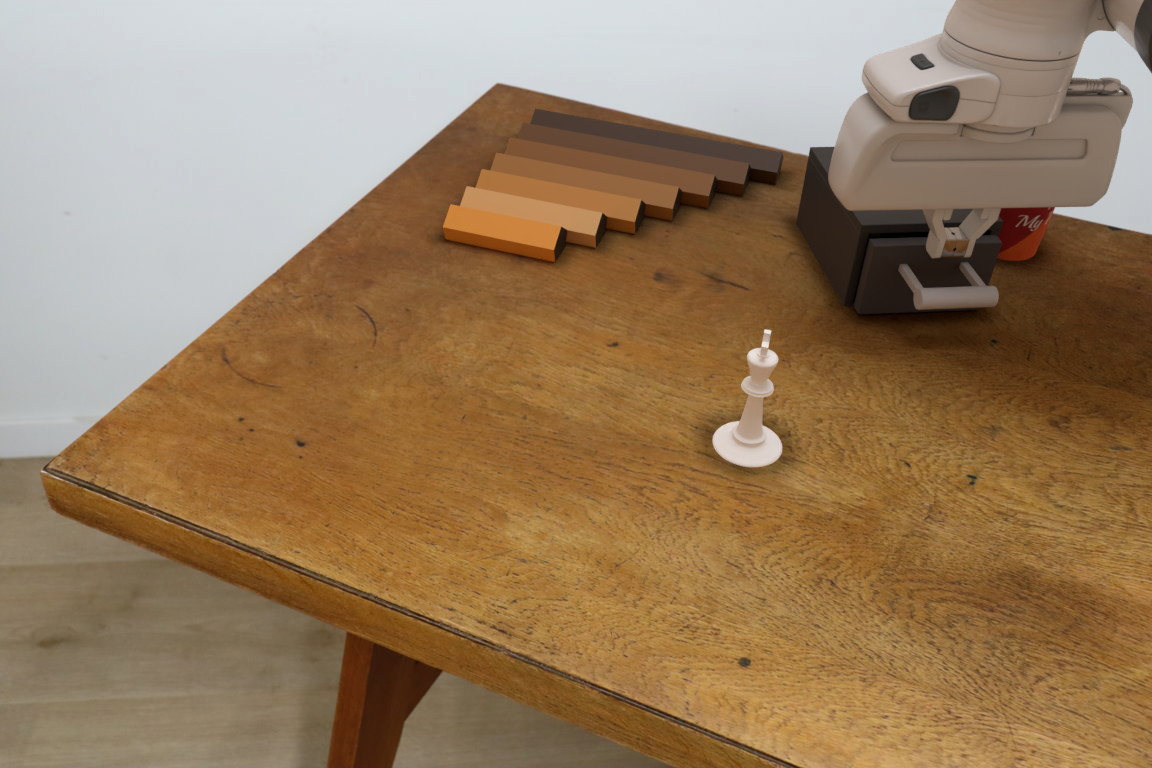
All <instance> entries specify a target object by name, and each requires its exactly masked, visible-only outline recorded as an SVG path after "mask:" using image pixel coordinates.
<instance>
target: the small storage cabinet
mask: <svg viewBox="0 0 1152 768" xmlns="http://www.w3.org/2000/svg"><path fill="white" fill-rule="evenodd" d="M834 147H835V146H810V147H809V152H808V158H807V164H806V169H805V173H804V177H803V183H802V190H801V193H800V195H801V196H800V199H799V206H798V210H797V216H796V222H795V223H796V225H797V227H798V229H799V230H800V232H801V233H802V234H801V235H802V236H803V238H804V239H805V241H806V243H807V245H808V247H809V248H810V250H811V251H812V253H813V255H814V257H815V259H816V260H817V262H818V264H819V265H820V267H821V269H822V271H823V272H824V274H825V276H826V278H827V279H828V281H829V283H830V285H831V286H832V288H833V290H834V292H835V294H836V295H837V297H838V299H839V301H840V302H841V303H842V305H843V306H846V307H847V306H849V307H850V306H854V302H855V298H856V294H857V293H856V288H857V284H858V280H859V275H860V271H861V267H862V263H863V258H864V254H865V250H866V245H867V241H868V237H869V234H872V233H907V232H929V231H930V229H929V227H928V224H927V221H926V218H925V216H924V213H923V210H873V211H850V210H847V209H846V208H845V207H844V206H843V205H842V203H841V202H840V201H839V200H838V198H837V197H836V196H835V194H834V192H833V191H832V189H831V187H830V185H829V181H828V174H829V168H830V163H831V159H832V155H833V151H834ZM972 210H973V209H953V212H952V215H951V218H950V220H942V222H943V225H944V228H954V227H959V226H960V225H961V223H962V222H963V221H964V220H965V219H966V217H967V216H968V215H969V214H970V213H971V211H972ZM1002 224H1003V220H1002V219H1001V218H1000V217H998V220H997V221H996V222H995V223H994V224H993V225H992V226H991V227H990V228H989V229H988V230H986V231H985V232H984V233H983V234H982V235H996V236H997V237H998V236H999V233H1000V230H1001V227H1002Z"/></svg>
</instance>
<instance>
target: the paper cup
mask: <svg viewBox="0 0 1152 768" xmlns="http://www.w3.org/2000/svg"><path fill="white" fill-rule="evenodd" d="M1055 209H1056V207H1040V208H1001V211H1000V214H999V217H1000V218H1001V219H1002V220H1003V224H1002V227H1001V230H1000V233H999V236H998V238H999V239H1000V241H1001V242H1002V245H1001V248H1000V251H999V254H998V257H997V260H1001V261H1002V260H1003V261H1008V262H1009V261H1011V262H1019V261H1027V260H1029V259H1031V258H1033V257H1034V256H1035V255H1036V253H1037V252H1038V248H1039V246H1040V244H1041V242H1042V241H1043V240H1042V239H1043V237H1044V235H1045V232H1046V231H1047V228H1048V226H1049V223H1050V221H1051V218H1052V216H1053V214H1054V212H1055Z"/></svg>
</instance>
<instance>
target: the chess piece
mask: <svg viewBox="0 0 1152 768" xmlns="http://www.w3.org/2000/svg"><path fill="white" fill-rule="evenodd" d="M771 336H772V329H765V328H764V330H763V336H762V342H761V346H760V347H755V348H752V349H751V350H749V351H748V353H747V355H746V361H747V365H748V368H749V375H748V376H746V377H745V378H743V380H742V381H741V384H740V387H741V390H742V391H743V393H745V394H746V395H747V398H746V401H745V405H744V408H743V411H742V414H741V416H740V419H739V420H735V421H730V422H727V423H725V424H723V425H721V426H719V427H718V428H717V429H716V430H715V431H714V433H713V435H712V441H711V442H712V446H713V448H714V450H715V452H716V453H717V455H719V456H720V457H721V458H722V459H724V460H725V461H727V462H729V463H731V464H733V465H737V466H739V467H745V468H762V467H767V466H770V465H772V464H773V463H775V462H776V461H777V460H778V459H779V458H780V457H781V455H782V453H783V443H782V440H781V439H780V437H779V436H778V434H776V432H774V431H773V430H772V429H770V428H769V427H767V426H765V425H763V416H764V414H763V413H764V398H767V397H770V396H771V395H772V394H773V393H774V391H775V386H774V383H773V382H772V381H771V379H769V378H770V376H771V375H772V373H773V371H774V370H775V369H776V368H777V366H778V364H779V355H778V354H777V353H776V352H775V351H773V350H771V349H769V347H770V340H771Z"/></svg>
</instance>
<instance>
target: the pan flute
mask: <svg viewBox="0 0 1152 768" xmlns="http://www.w3.org/2000/svg"><path fill="white" fill-rule="evenodd" d="M783 161H784V154H783V152H782V151H776V150H771V149H764V148H760V147H754V146H749V145H743V144H736V143H732V142H727V141H720V140H715V139H708V138H703V137H698V136H693V135H692V136H691V135H686V134H682V133H681V134H680V133H676V132H669V131H664V130H658V129H652V128H648V127H641V126H636V125H631V124H624V123H619V122H613V121H608V120H601V119H595V118H591V117H585V116H580V115H579V116H578V115H573V114H569V113H562V112H556V111H553V110H552V111H551V110H545V109H541V108H534V110H533V113H532V117H531V120H530V123H527V122H522V124H521V127H520V130H519V133H518V135H517V137H509V139H508V142H507V145H506V147H505V151H504V153H500V152H495V155H494V158H493V161H492V164H491V167H490V169H485V168H481V170H480V173H479V176H478V179H477V181H476V185H475V187H473V186H470V185H469V186H468V185H466V186H465V190H464V192H463V195H462V199H461V202H460V204H459V205H456V204H452V203H450V205H449V208H448V211H447V213H446V216H445V219H444V222H443V225H442V230H443V234H444V235H443V236H444V240H447V241H451V242H456V243H461V244H466V245H471V246H475V247H481V248H485V249H490V250H493V251H498V252H499V251H500V252H503V253H509V254H514V255H518V256H524V257H528V258H531V259H532V258H534V259H538V260H543V261H547V262H552V263H556V262H557V260H558V259H559V257H560V256H561V254H562V253H563V252H564V250H565V248H566V243H570V244H575V245H579V246H585V247H589V248H593V249H594V248H595V249H597V247H598V246H599V244H600V243H601V241H602V239H603V237H604V236H605V234H606V229H608V230H612V231H618V232H623V233H628V234H631V235H632V234H633V235H636V233H637V232H638V230H639V228H640V227H641V225H642V223H643V221H644V218H645V217H650V218H656V219H659V220H660V219H661V220H666V221H669V222H670V221H671V222H673V221H674V219H675V218H676V215H677V213H678V212H679V209H680V206H681V204H683V205H688V206H694V207H699V208H704V209H709V208H710V206H711V204H712V202H713V200H714V198H715V194H716V192H718V193H723V194H729V195H734V196H739V197H743V196H744V194H745V192H746V189H747V188H748V185H749V181H753V182H759V183H764V184H770V185H777V182H778V179H779V177H780V175H781V171H782V166H783ZM644 216H645V217H644Z"/></svg>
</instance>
